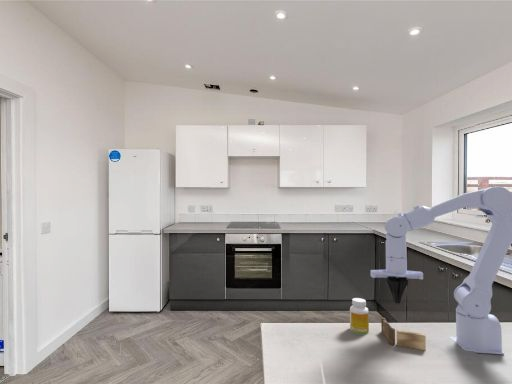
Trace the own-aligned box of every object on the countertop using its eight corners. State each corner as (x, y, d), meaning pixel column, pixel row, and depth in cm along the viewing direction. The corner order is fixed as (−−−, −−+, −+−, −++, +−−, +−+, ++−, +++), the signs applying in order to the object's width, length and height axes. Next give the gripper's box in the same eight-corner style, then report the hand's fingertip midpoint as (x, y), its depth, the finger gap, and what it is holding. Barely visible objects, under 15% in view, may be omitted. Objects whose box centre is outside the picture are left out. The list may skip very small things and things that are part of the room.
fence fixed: (385, 333, 87) (385, 317, 87) (396, 347, 78) (395, 330, 78) (380, 333, 87) (380, 317, 87) (389, 347, 78) (389, 330, 78)
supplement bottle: (371, 336, 84) (371, 303, 85) (353, 336, 85) (352, 302, 85) (365, 328, 90) (364, 297, 90) (347, 328, 90) (347, 296, 90)
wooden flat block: (396, 345, 78) (396, 331, 78) (396, 343, 79) (396, 329, 79) (425, 350, 75) (425, 335, 76) (425, 348, 76) (424, 334, 76)
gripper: (375, 258, 84) (375, 305, 83) (427, 260, 82) (428, 308, 82) (368, 254, 91) (368, 297, 90) (417, 255, 89) (417, 300, 89)
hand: (396, 302), depth 87 cm, fingers closed
